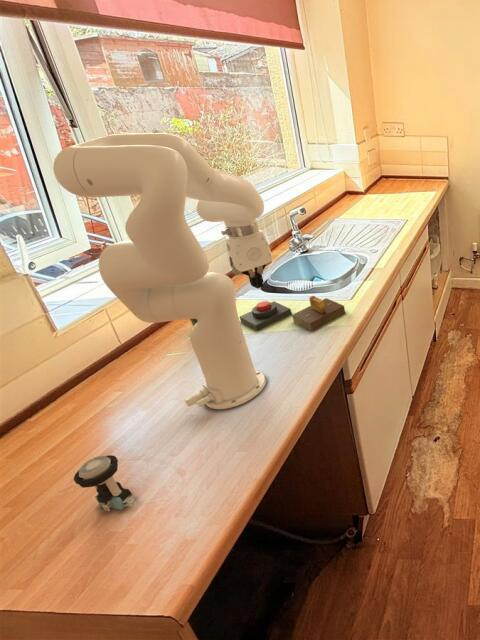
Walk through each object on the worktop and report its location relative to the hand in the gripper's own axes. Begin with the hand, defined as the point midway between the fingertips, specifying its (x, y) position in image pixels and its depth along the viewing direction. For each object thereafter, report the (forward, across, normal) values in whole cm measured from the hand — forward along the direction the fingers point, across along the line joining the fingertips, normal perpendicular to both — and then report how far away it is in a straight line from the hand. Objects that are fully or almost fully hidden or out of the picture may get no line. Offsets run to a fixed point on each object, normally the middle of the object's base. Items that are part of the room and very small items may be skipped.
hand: (258, 286), depth 121 cm
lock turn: (+9, +10, -13) cm, 18 cm away
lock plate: (+12, +10, -13) cm, 20 cm away
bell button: (+8, +1, +1) cm, 8 cm away
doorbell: (+12, +1, +1) cm, 12 cm away
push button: (+13, -48, -36) cm, 61 cm away
